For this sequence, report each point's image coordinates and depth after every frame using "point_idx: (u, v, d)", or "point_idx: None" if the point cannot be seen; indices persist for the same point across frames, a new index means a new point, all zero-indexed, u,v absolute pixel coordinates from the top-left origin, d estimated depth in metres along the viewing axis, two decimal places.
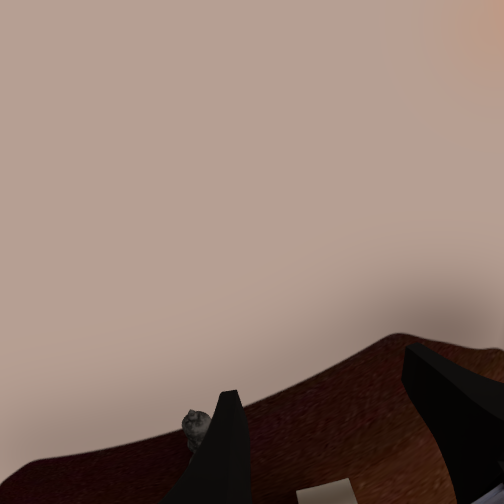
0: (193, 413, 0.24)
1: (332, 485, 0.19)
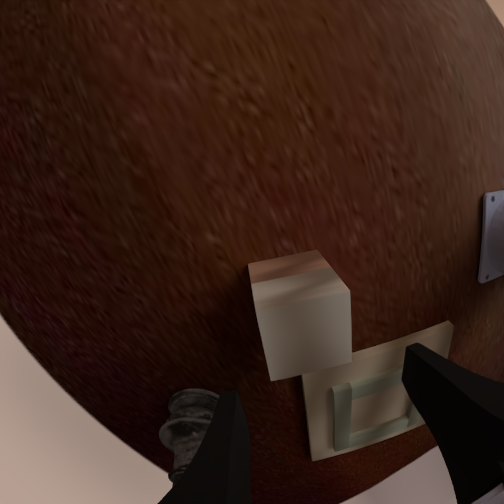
0: None
1: (267, 335, 0.14)
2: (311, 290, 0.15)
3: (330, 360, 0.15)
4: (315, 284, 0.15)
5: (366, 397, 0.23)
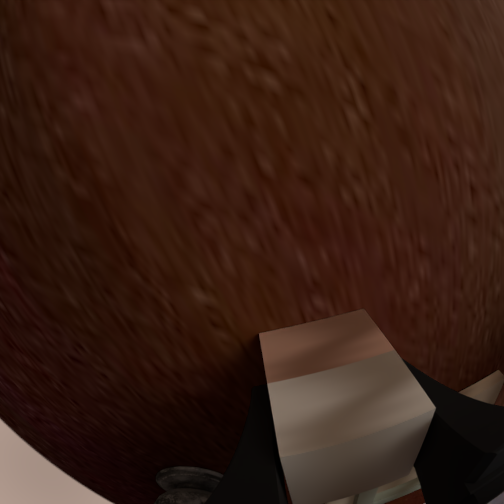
0: None
1: (296, 477, 0.07)
2: (374, 408, 0.07)
3: (381, 481, 0.08)
4: (377, 393, 0.08)
5: None
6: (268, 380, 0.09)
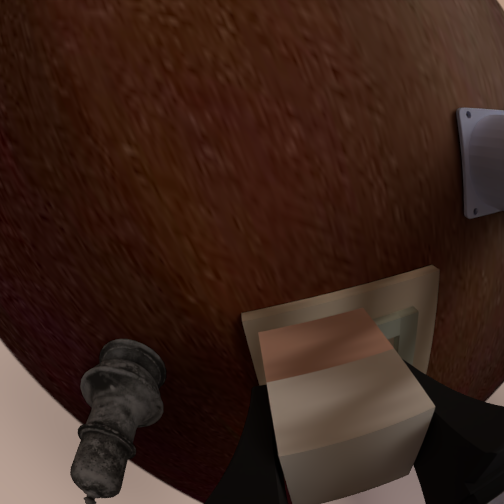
0: (89, 500, 0.09)
1: (296, 476, 0.07)
2: (373, 407, 0.07)
3: (381, 480, 0.08)
4: (376, 392, 0.08)
5: None
6: (267, 379, 0.09)
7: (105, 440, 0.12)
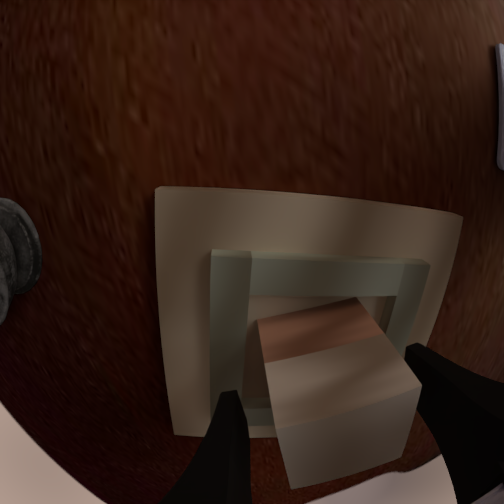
0: None
1: (292, 451, 0.08)
2: (363, 385, 0.08)
3: (374, 461, 0.09)
4: (366, 371, 0.09)
5: None
6: (265, 360, 0.10)
7: None
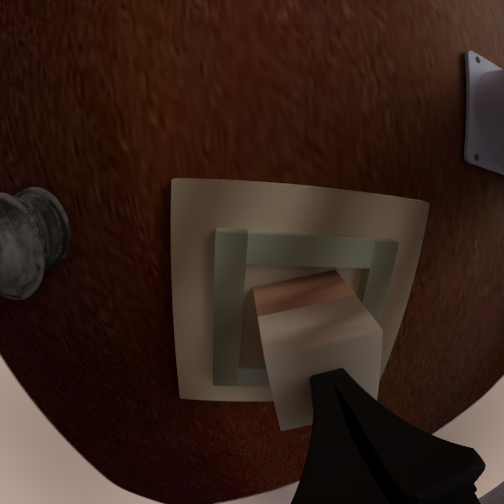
0: None
1: (279, 385, 0.11)
2: (335, 329, 0.11)
3: None
4: (338, 320, 0.12)
5: (275, 281, 0.16)
6: (258, 314, 0.13)
7: None
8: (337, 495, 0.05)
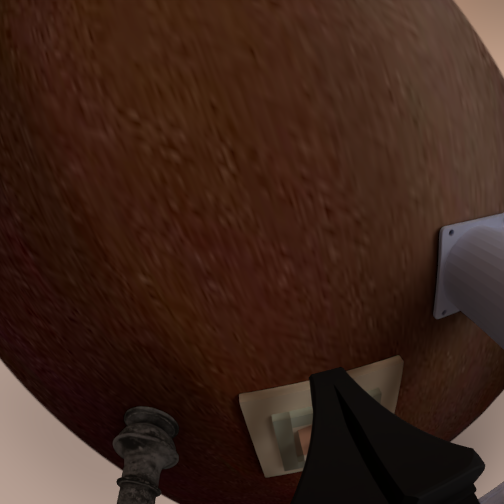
0: None
1: None
2: None
3: None
4: None
5: None
6: (304, 454, 0.21)
7: (140, 489, 0.16)
8: (336, 495, 0.05)
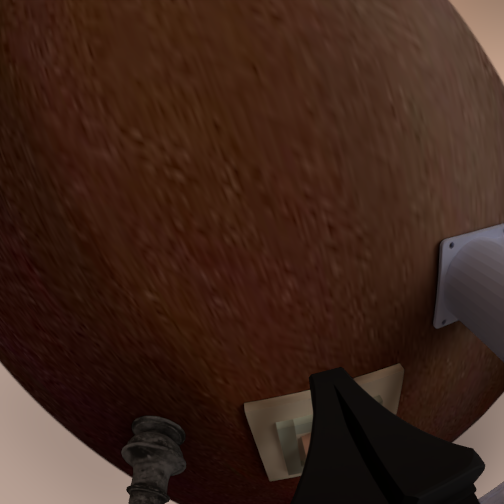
0: None
1: None
2: None
3: None
4: None
5: None
6: None
7: (149, 496, 0.17)
8: (336, 495, 0.05)
